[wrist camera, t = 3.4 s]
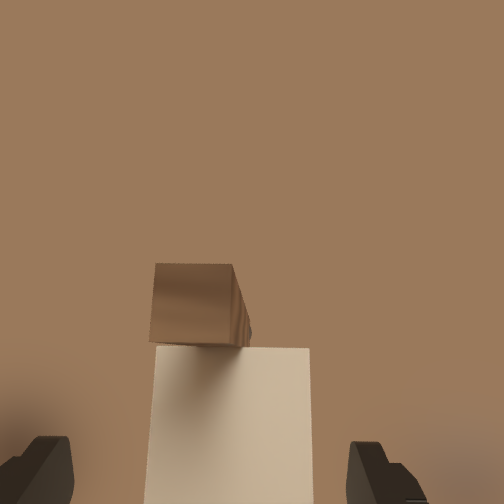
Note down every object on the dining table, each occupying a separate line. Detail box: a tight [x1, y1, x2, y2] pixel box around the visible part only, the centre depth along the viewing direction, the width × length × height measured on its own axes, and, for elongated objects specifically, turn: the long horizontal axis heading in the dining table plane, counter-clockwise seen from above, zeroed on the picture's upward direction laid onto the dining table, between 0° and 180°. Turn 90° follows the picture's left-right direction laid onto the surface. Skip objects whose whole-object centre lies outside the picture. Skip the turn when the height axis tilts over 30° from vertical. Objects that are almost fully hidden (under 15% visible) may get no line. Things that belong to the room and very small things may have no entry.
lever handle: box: [149, 263, 252, 347], centre depth 26 cm, size 26×3×3 cm, turn 179°
